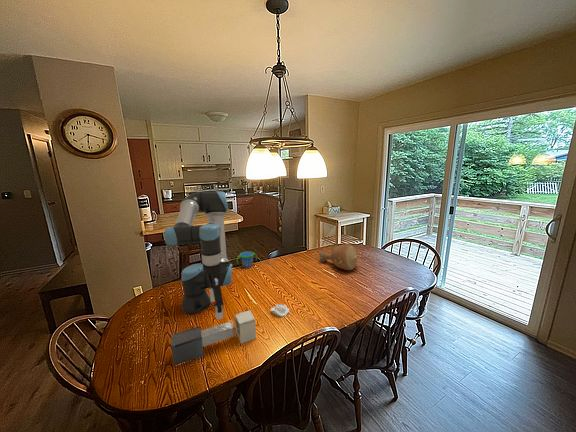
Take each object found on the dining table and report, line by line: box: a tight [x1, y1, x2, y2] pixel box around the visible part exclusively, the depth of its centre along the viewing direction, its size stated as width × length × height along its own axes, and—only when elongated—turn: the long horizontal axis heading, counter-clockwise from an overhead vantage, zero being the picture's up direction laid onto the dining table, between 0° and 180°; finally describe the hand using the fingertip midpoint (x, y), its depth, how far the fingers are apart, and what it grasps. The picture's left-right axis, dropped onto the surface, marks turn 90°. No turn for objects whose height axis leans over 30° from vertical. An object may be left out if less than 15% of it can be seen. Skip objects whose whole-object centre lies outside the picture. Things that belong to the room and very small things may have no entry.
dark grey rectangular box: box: [170, 326, 205, 366], centre depth 96 cm, size 11×7×10 cm, turn 117°
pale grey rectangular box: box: [200, 319, 237, 347], centre depth 99 cm, size 23×5×5 cm, turn 117°
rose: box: [270, 304, 290, 318], centre depth 124 cm, size 10×4×10 cm
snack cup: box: [236, 250, 258, 269], centre depth 180 cm, size 16×10×10 cm
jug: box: [318, 243, 358, 271], centre depth 176 cm, size 20×19×30 cm
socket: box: [234, 309, 257, 345], centre depth 107 cm, size 7×8×10 cm
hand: (216, 309), depth 99 cm, fingers open, 13 cm apart
